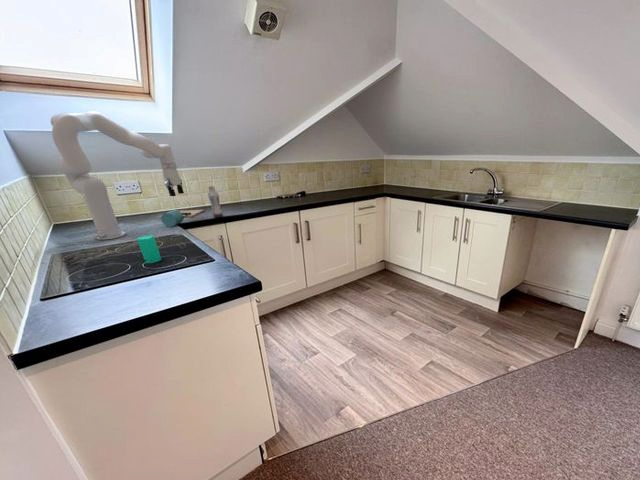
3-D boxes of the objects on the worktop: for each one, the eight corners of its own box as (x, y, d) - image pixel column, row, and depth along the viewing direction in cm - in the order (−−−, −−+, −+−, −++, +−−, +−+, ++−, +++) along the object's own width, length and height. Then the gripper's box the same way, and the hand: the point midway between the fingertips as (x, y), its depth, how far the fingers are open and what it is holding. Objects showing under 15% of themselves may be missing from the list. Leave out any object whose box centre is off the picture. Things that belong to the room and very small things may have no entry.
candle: (163, 257, 131) (154, 230, 126) (159, 261, 126) (150, 234, 121) (147, 259, 130) (137, 232, 125) (143, 264, 124) (133, 236, 119)
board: (191, 217, 203) (190, 215, 202) (164, 218, 202) (164, 216, 202) (204, 211, 221) (204, 209, 221) (180, 212, 220) (179, 210, 220)
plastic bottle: (216, 218, 197) (209, 187, 189) (211, 217, 201) (203, 187, 193) (225, 216, 202) (218, 186, 194) (220, 215, 206) (213, 185, 198)
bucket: (177, 219, 197) (174, 207, 193) (192, 219, 197) (189, 207, 194) (162, 226, 181) (158, 213, 177) (178, 226, 181) (175, 213, 178)
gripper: (170, 165, 190) (178, 192, 197) (154, 167, 174) (163, 197, 181) (182, 164, 190) (189, 192, 197) (167, 167, 174) (176, 197, 182)
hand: (177, 194), depth 189 cm, fingers open, 9 cm apart
